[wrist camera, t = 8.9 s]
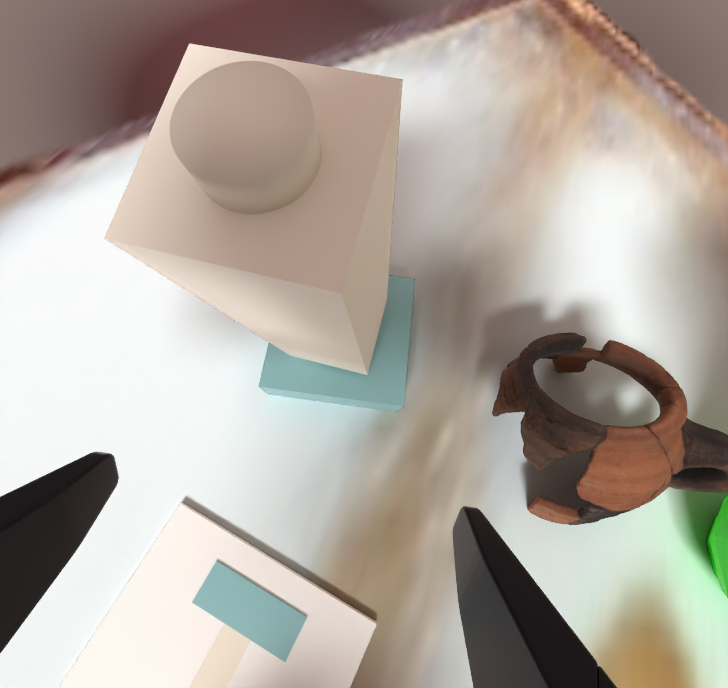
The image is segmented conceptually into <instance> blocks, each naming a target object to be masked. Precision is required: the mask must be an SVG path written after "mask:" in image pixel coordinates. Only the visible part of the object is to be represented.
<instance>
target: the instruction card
mask: <svg viewBox="0 0 728 688" xmlns="http://www.w3.org/2000/svg"><path fill="white" fill-rule="evenodd" d="M376 625H377V623H376V621H375V620H373V619H371V618H370V617H368V616H366V615H365V614H363V613H362V612H360V611H358V610H357V609H355V608H353V607H352V606H350V605H349V604H347V603H345V602H344V601H342V600H340V599H339V598H337V597H335V596H334V595H332V594H331V593H329V592H327V591H326V590H324V589H322V588H321V587H319V586H318V585H316V584H314V583H313V582H311V581H309V580H308V579H306V578H305V577H303V576H301V575H300V574H298V573H296V572H295V571H293V570H292V569H290V568H288V567H287V566H285V565H283V564H282V563H280V562H278V561H277V560H275V559H274V558H272V557H270V556H269V555H267V554H265V553H264V552H262V551H261V550H259V549H257V548H256V547H254V546H252V545H251V544H249V543H248V542H246V541H244V540H243V539H241V538H239V537H238V536H236V535H235V534H233V533H231V532H230V531H228V530H226V529H225V528H223V527H221V526H220V525H218V524H217V523H215V522H213V521H212V520H210V519H208V518H207V517H205V516H204V515H202V514H200V513H199V512H197V511H195V510H194V509H192V508H191V507H189V506H187V505H186V504H184V503H180V505H179V506H178V508H177V509H176V511H175V512H174V514H173V515H172V517H171V518H170V520H169V521H168V523H167V524H166V526H165V527H164V529H163V530H162V532H161V533H160V535H159V536H158V538H157V540H156V541H155V543H154V544H153V546H152V547H151V549H150V550H149V552H148V553H147V555H146V556H145V558H144V559H143V561H142V562H141V564H140V565H139V567H138V568H137V570H136V571H135V573H134V574H133V576H132V577H131V579H130V580H129V582H128V583H127V585H126V587H125V588H124V590H123V591H122V593H121V594H120V596H119V597H118V599H117V600H116V602H115V603H114V605H113V606H112V608H111V609H110V611H109V612H108V614H107V615H106V617H105V618H104V620H103V621H102V623H101V624H100V626H99V627H98V629H97V630H96V632H95V633H94V635H93V637H92V638H91V640H90V641H89V643H88V644H87V646H86V647H85V649H84V650H83V652H82V653H81V655H80V656H79V658H78V659H77V661H76V662H75V664H74V665H73V667H72V668H71V670H70V671H69V673H68V674H67V676H66V677H65V679H64V680H63V682H62V684H61V685H60V687H59V688H350V686H351V684H352V682H353V679H354V677H355V675H356V672H357V670H358V667H359V665H360V663H361V660H362V658H363V656H364V653H365V651H366V649H367V646H368V644H369V641H370V639H371V637H372V634H373V632H374V630H375V627H376Z"/></svg>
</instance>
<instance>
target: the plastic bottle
mask: <svg viewBox="0 0 728 688" xmlns="http://www.w3.org/2000/svg"><path fill="white" fill-rule="evenodd" d="M707 545H708V549H709V553H710V558H711V562H712V566H713V570H714V574H715V575H716V576H717V577H718V579H719V581H720V584H721V588H722V590H723V592H724V593H725V595H726V596H727V597H728V495H727V496H726V498H725V499H724V500H723V503H722V505H721V508H720V511H719V513H718V516H716V517H715V520H714V522H713V525H712V528H711V530H710V533H709V536H708V538H707Z"/></svg>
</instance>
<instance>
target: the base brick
mask: <svg viewBox="0 0 728 688" xmlns="http://www.w3.org/2000/svg"><path fill="white" fill-rule="evenodd" d="M414 283H415V279H412V278H406V277H399V276H392V275H389V277H388V291H387V301H386V305H385V309H384V313H383V317H382V321H381V325H380V328H379V332H378V336H377V340H376V344H375V348H374V352H373V356H372V360H371V364H370V368H369V371H368V375H365V374H361V373H357V372H353V371H349V370H345V369H341V368H337V367H333V366H329V365H325V364H321V363H317V362H313V361H309V360H305V359H302V358H298V357H294V356H290V355H288V354H287V353H285V352H284V351H282V350H280V349H279V348H277V347H276V346H274V345H273V344H271V343H269V344H268V348H267V353H266V357H265V361H264V366H263V370H262V375H261V379H260V383H259V387H260V388H261V389H262V390H263V391H265V392H266V393H267V394H270V395H277V396H285V397H292V398H299V399H307V400H314V401H321V402H329V403H336V404H343V405H351V406H358V407H365V408H373V409H380V410H387V411H395V412H397V411H398V410H400V409H401V408H402V407H404V399H405V388H406V376H407V364H408V353H409V341H410V330H411V318H412V306H413V295H414Z"/></svg>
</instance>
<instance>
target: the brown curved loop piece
mask: <svg viewBox="0 0 728 688" xmlns="http://www.w3.org/2000/svg"><path fill="white" fill-rule="evenodd" d="M585 343H586V338H585V337H583V336H580V335H578V334H576V333H557V334H553V335H547V336H544V337H541V338H539V339H536V340H535V341H533V342H532V343H530V344H529V345H528V347H527V348H525V349H524V350H523V352H522V353H521V354H520V356H519V357H517V358H516V359H515V360H513V361H512V362H510V363H509V364H508V366H507V369H506V370H504V371H503V372H502V375H501V379H500V388H499V392H498V395H497V399H496V401H495V403H494V408H493V412H492V414H493V416H498V415H500V414H502V413H507V412H508V413H511V412H525V415H524V417H523V419H522V421H521V435H522V438H523V442H524V447H523V454H524V456H525V457H526V458H527V460H528V461H529V462H530V463H531V464H532V465H533V466H534V467H535V468H537V469H539V470H542V469H544V468H545V467H546V466H547V465H548V464H549V463H550V462H551V460H556V459H562V458H565V457H567V456H569V455H572V454H577V453H581V452H586V451H590V457H589V462H588V465H587V467H586V469H585V471H584V472H583V474H582V475H581V476H580V477H579V479H578V480H577V483H576V487H577V493H578V495H579V497H580V498H582V499H584V500H586V501H589V502H587V505H586V506H585V508H581V509H579V510H577V509H573V508H570V507H566V506H563V505H560V504H557V503H555V502H553V501H550V500H548V499H545V498H543V497H540V496H539V497H537V498H536V499H535V501H534V502H533V503H532V504H530V505H528V510H529V511H530V512H531V513H532V514H534V515H536V516H538V517H540V518H542V519H545V520H548V521H551V522H555V523H561V524H569V525H579V524H585V523H592V522H597V521H599V520H600V519H604V518H608V517H613V516H617V515H619V514H621V513H625V512H628V511H631V510H633V509H635V508H638V507H640V506H641V505H644V504H646V503H648V502H650V501H652V500H653V499H655V498H656V497H657V496H658V495H659V494H661V493H662V492H663V491H664V490H666V489H667V488H668V487H672V488H676V489H683V490H691V491H699V492H725V491H728V435H727V434H725V433H722V432H720V431H718V430H714V429H710V428H707V427H705V426H702V425H699V424H697V423H694V422H692V421H691V420H689V419H687V418H686V417H687V401H686V398H685V395H684V393H683V390H682V389H681V388H680V387H679V384H678V383H677V382H676V380H674V378H673V377H672V376H671V375H670V374H669V373H668V372H667V371H666V370H665V369H664V368H663V367H662V366H660V365H659V364H658V363H656V362H655V361H654V360H652V359H651V358H649V357H647V356H645V355H644V354H643V353H641V352H639V351H637V350H635V349H633V348H631V347H629V346H627V345H624V344H622V343H619V342H616V341H612V340H609V341H608V342H607V343H606V344H605V345H604V347H603V349H602V350H601V351H598V350H594V349H590V348H583V347H582V346H583V345H584V344H585ZM540 358H543V359H545V358H547V359H552V361H553V364H554V368H555V370H556V371H559V372H568V373H571V372H582V371H584V370H585V368H586V365H587V362H589V361H591V360H592V359H593V360H596V361H599V362H603V363H605V364H608V365H610V366H612V367H614V368H616V369H618V370H621V371H623V372H624V373H626V374H628V375H630V376H631V377H632V378H634V379H635V380H636V381H637V382H639V383H640V384H641V385H643V386H644V387H645V388H646V389H647V390H648V391H649V392H650V393H651V394H652V395H653V396H654V397H655V399H656V400H657V401H658V403H659V406H660V415H659V417H658V418H657V419H656V420H655V421H653V422H651V423H648V424H645V425H643V426H636V427H618V426H609V425H607V426H603V425H600V424H598V423H595V422H593V421H589V420H587V419H584V418H581V417H579V416H577V415H575V414H573V413H571V412H569V411H567V410H566V409H564V408H563V407H561V406H560V405H559V404H557V403H556V402H554V401H553V400H552V399H551V398H550V397H548V396H547V395H546V394H545V392H544V391H543V390H542V389H541V388H540V387H539V385H538V383H537V381H536V379H535V375H534V372H533V365H534V363H535V362H536V361H537V360H538V359H540Z"/></svg>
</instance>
